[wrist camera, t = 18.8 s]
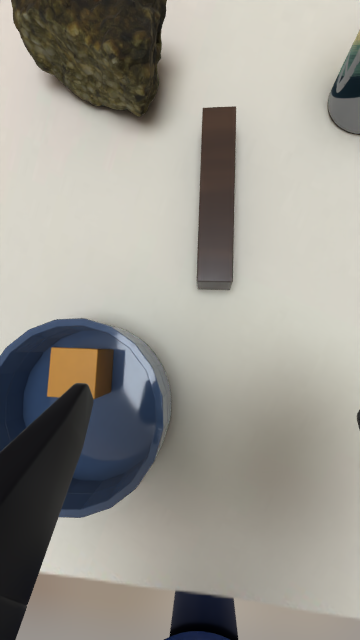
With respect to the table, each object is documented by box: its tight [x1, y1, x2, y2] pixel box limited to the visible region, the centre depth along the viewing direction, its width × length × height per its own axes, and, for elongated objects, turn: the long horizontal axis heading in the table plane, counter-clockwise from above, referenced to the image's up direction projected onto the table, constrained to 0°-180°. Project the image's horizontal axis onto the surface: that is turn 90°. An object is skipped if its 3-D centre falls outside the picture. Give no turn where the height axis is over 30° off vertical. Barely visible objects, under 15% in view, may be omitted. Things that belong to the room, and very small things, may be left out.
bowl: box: [0, 318, 172, 518], centre depth 20 cm, size 13×13×4 cm
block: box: [47, 347, 114, 399], centre depth 21 cm, size 3×3×3 cm
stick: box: [197, 107, 236, 290], centre depth 22 cm, size 3×3×14 cm
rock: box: [11, 0, 167, 117], centre depth 22 cm, size 12×9×8 cm
